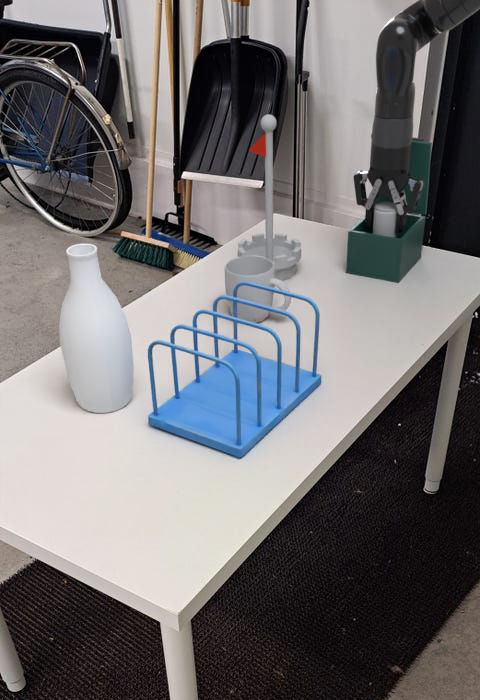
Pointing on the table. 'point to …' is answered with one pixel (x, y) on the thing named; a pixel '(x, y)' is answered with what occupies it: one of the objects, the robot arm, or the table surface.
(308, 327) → the table surface
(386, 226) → the beverage can
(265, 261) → the mug
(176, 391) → the file sorter
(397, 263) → the box
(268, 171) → the flag stand
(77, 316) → the bottle
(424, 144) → the lid
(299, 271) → the table surface
